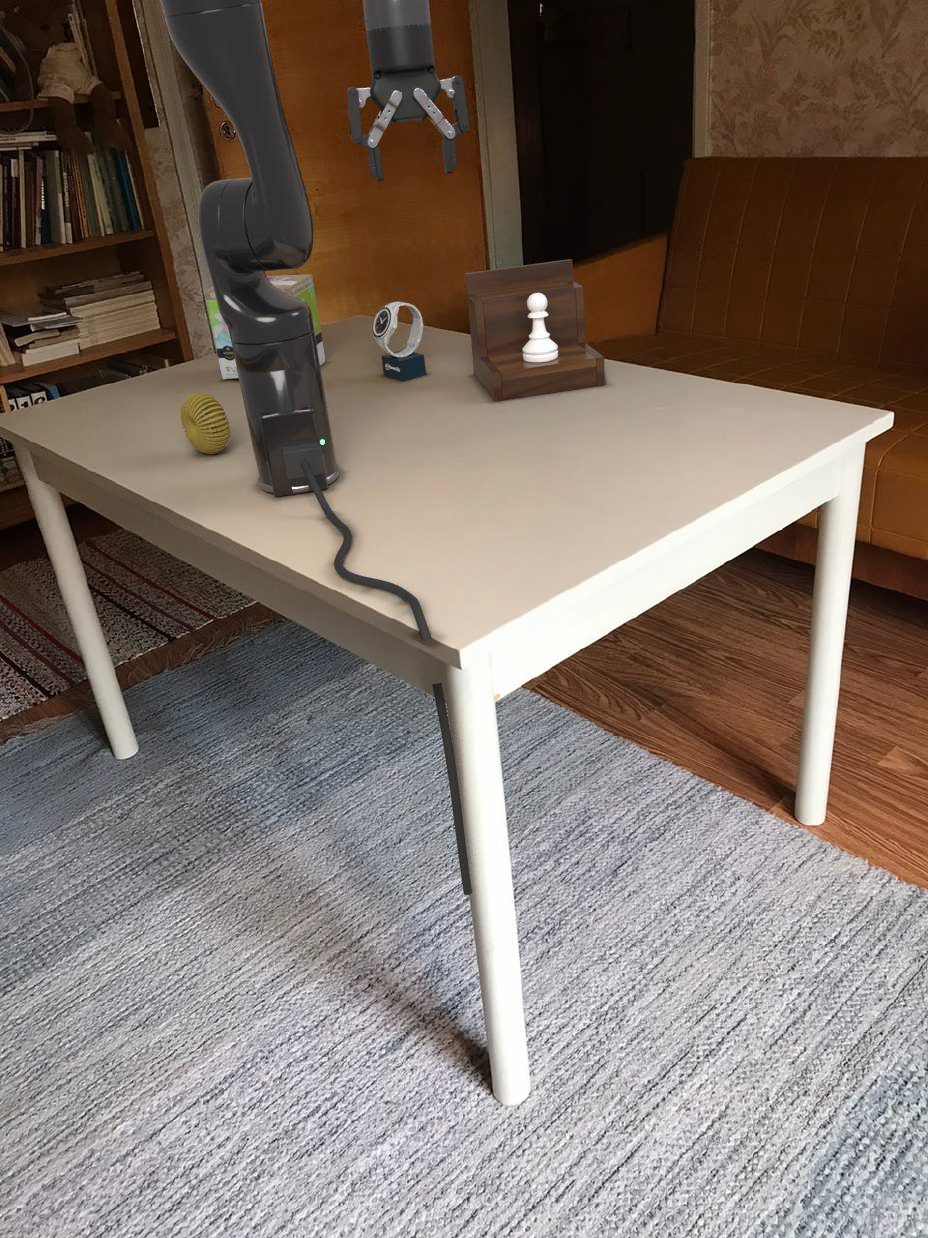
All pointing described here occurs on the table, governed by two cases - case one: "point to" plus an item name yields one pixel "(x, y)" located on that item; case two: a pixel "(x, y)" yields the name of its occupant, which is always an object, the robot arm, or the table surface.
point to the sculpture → (205, 423)
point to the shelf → (529, 331)
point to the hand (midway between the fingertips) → (414, 176)
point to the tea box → (288, 284)
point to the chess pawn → (539, 333)
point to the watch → (406, 360)
